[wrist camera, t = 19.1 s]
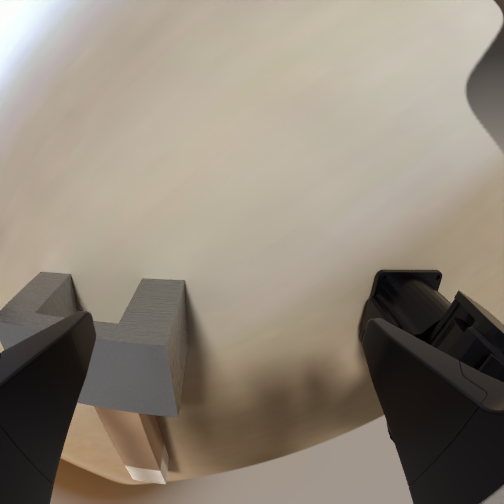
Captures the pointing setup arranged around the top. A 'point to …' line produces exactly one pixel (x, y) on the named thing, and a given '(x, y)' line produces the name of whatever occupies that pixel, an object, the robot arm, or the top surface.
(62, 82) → the top surface
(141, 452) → the plug rod
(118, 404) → the grey u-shaped block
